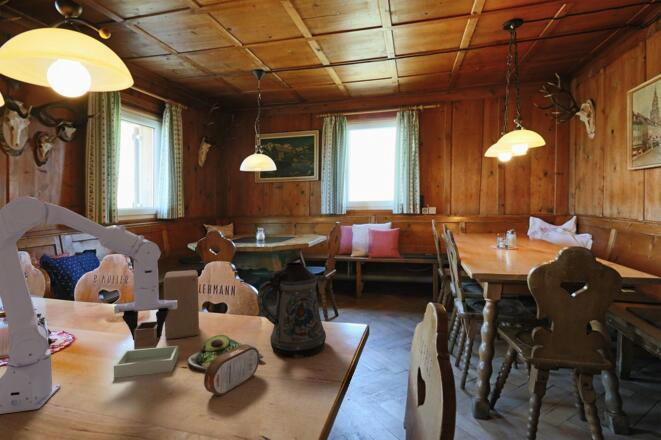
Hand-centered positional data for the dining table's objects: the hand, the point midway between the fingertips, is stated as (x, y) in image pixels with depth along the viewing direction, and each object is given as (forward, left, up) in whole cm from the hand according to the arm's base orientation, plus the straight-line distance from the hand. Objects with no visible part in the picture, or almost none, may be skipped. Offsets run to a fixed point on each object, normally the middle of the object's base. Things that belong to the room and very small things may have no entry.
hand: (147, 337), depth 91 cm
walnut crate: (0, 0, -2) cm, 2 cm away
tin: (-16, -22, -8) cm, 28 cm away
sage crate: (0, 0, -8) cm, 8 cm away
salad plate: (0, -19, -8) cm, 21 cm away
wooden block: (+23, -5, -8) cm, 25 cm away
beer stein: (+1, -39, -8) cm, 40 cm away
